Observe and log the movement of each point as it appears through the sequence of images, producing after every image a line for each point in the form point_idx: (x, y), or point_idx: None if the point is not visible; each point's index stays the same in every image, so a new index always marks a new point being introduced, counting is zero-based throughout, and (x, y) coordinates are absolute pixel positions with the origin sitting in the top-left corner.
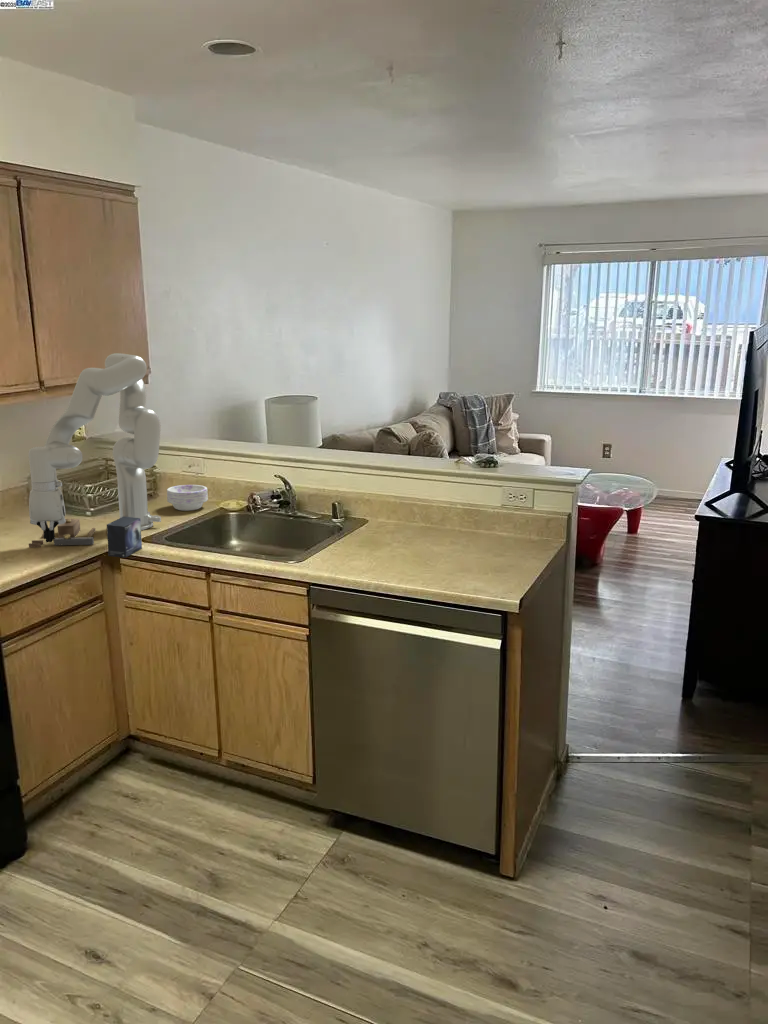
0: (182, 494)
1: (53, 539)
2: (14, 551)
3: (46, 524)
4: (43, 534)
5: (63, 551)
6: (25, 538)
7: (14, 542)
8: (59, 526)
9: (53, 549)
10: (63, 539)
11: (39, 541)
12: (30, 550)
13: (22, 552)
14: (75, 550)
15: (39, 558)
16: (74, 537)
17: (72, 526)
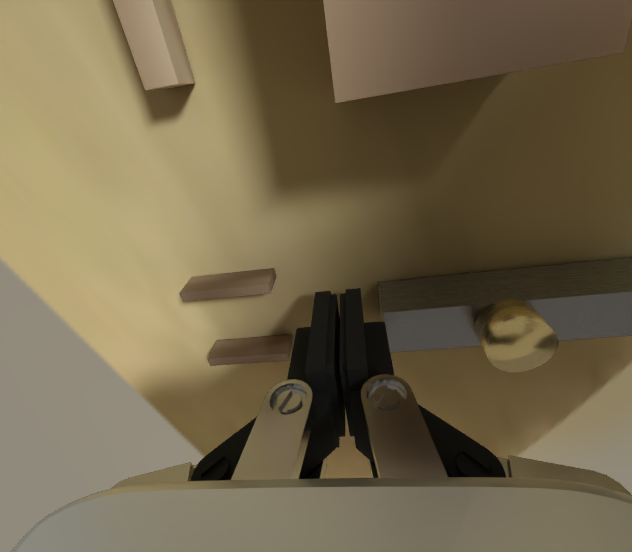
0: None
1: (360, 291)
2: (183, 404)
3: (304, 440)
4: (154, 86)
5: (475, 405)
6: (14, 120)
7: (31, 245)
8: (367, 94)
9: (399, 375)
10: (472, 344)
11: (244, 292)
12: (262, 391)
13: (238, 417)
14: (555, 390)
15: None
16: (577, 295)
17: (600, 53)
